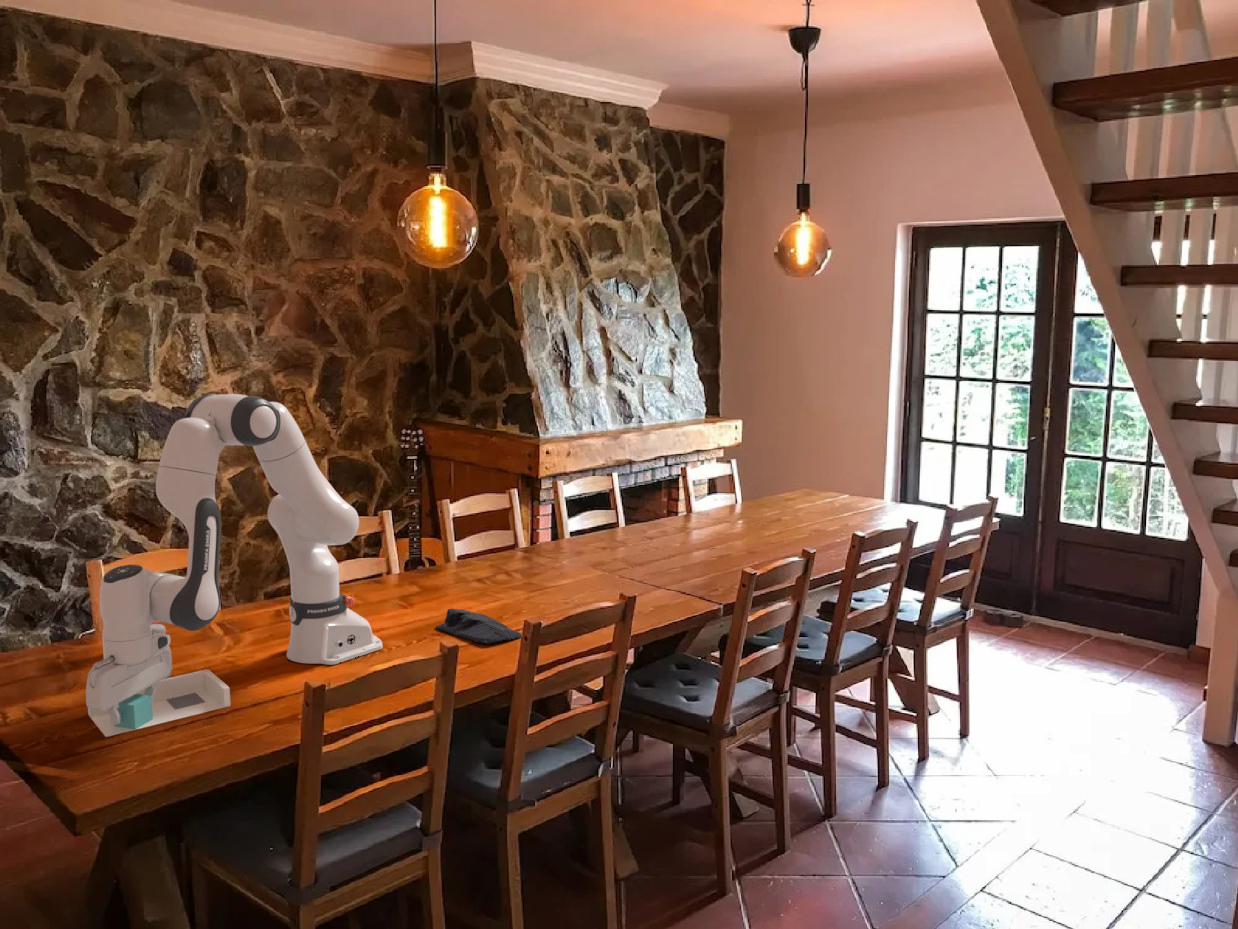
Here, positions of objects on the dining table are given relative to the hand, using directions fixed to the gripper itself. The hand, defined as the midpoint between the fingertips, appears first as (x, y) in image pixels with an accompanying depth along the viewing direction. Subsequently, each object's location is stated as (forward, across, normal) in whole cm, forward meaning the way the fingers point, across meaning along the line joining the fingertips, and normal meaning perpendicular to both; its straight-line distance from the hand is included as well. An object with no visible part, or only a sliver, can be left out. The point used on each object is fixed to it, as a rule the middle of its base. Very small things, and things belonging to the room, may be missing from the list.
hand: (132, 714), depth 204 cm
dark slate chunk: (+3, +74, -44) cm, 86 cm away
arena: (+3, +7, -1) cm, 7 cm away
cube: (+2, 0, 0) cm, 2 cm away
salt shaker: (+3, +21, +11) cm, 24 cm away
